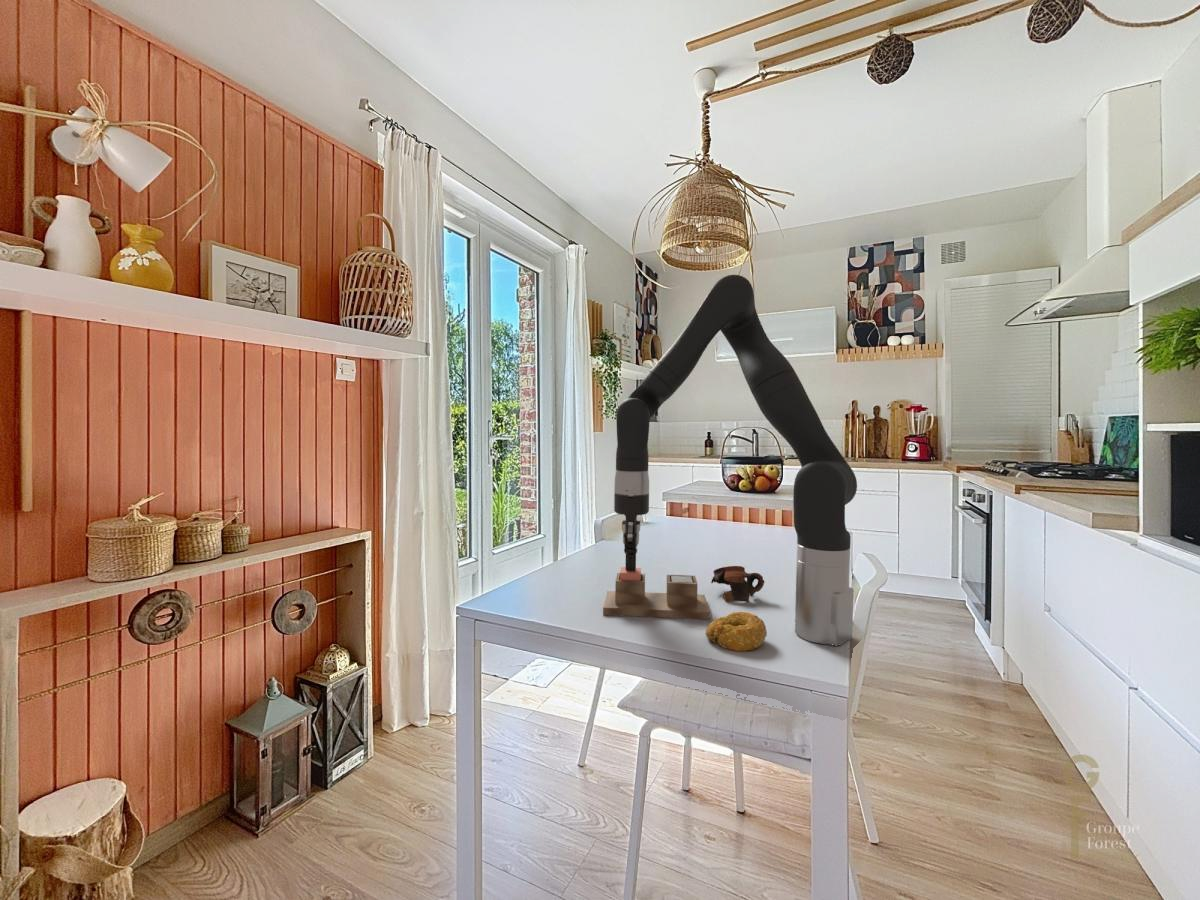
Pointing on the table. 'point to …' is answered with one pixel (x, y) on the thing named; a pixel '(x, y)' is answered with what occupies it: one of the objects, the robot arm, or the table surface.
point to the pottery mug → (738, 582)
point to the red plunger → (630, 574)
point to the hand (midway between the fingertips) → (630, 570)
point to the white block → (681, 579)
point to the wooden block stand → (656, 600)
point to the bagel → (737, 631)
